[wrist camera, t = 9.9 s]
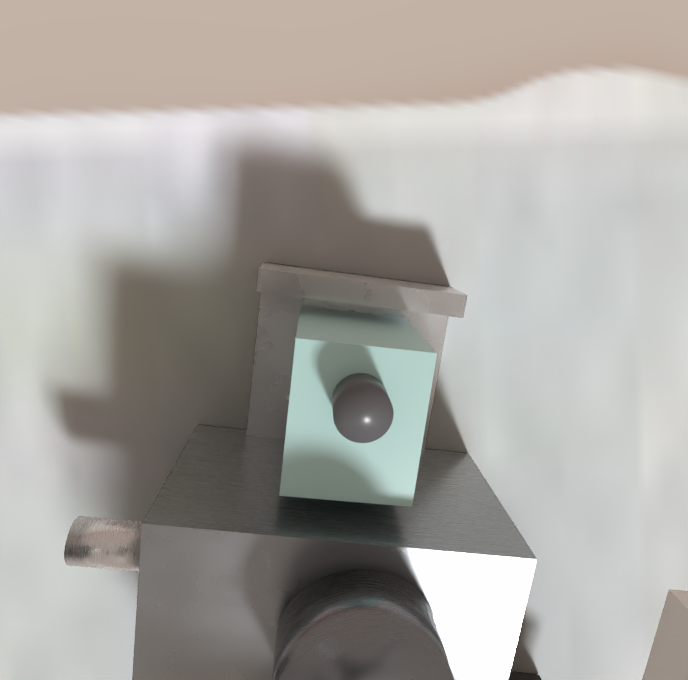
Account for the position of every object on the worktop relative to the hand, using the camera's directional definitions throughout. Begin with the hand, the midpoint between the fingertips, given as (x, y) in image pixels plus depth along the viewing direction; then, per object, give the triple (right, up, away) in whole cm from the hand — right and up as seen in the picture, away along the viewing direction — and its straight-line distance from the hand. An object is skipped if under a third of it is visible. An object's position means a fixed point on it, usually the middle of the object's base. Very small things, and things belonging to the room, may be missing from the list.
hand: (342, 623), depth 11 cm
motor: (-2, +1, +17) cm, 17 cm away
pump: (0, +4, +16) cm, 16 cm away
